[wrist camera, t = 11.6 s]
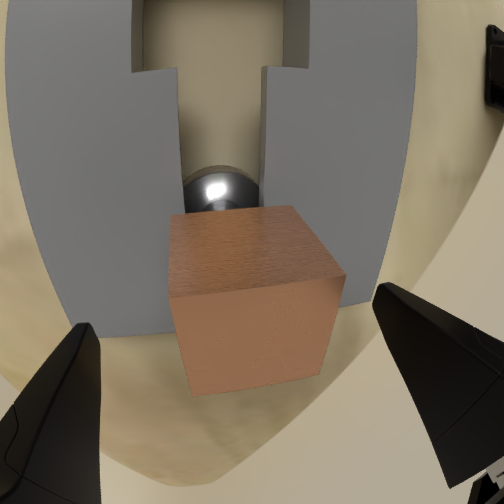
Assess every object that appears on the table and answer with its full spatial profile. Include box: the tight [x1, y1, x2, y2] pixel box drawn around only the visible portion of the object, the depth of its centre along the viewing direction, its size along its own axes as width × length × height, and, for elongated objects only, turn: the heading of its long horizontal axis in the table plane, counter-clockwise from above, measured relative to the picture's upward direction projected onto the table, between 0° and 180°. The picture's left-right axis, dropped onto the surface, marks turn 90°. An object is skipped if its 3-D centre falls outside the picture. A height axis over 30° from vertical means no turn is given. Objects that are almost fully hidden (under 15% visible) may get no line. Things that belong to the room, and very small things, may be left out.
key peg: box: [168, 165, 346, 396], centre depth 11 cm, size 4×4×8 cm
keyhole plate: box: [5, 0, 417, 338], centre depth 11 cm, size 18×16×3 cm
